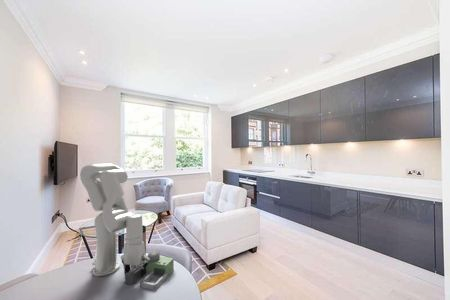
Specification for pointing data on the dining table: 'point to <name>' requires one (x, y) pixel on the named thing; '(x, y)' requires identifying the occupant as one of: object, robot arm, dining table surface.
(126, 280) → the ridged grey block
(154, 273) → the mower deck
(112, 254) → the robot arm
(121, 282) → the dining table surface
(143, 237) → the travel mug
